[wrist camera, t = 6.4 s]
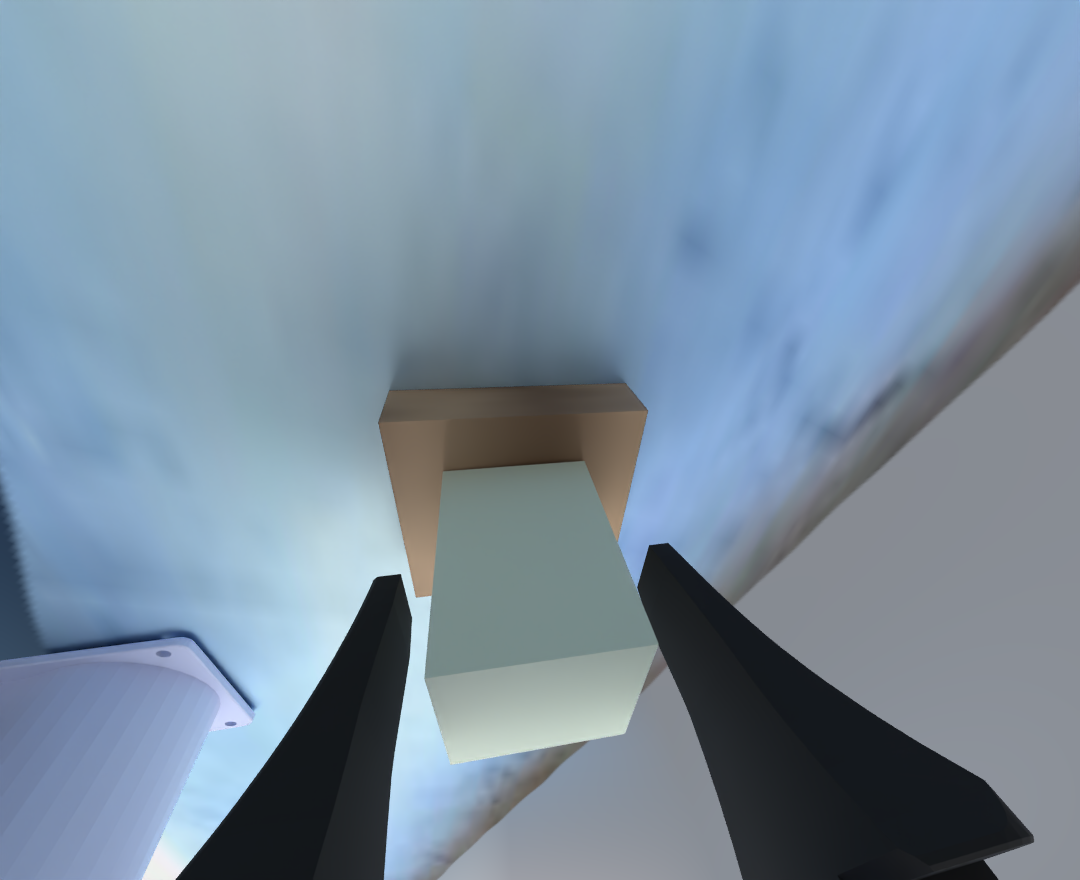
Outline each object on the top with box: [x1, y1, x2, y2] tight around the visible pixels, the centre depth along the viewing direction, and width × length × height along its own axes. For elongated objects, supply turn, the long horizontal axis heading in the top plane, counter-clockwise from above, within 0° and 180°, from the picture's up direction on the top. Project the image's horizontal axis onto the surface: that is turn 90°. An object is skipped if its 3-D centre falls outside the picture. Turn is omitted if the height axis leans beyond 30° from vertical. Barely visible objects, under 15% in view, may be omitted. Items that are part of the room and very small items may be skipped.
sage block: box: [424, 461, 659, 765], centre depth 11 cm, size 4×4×6 cm
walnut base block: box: [378, 383, 648, 597], centre depth 15 cm, size 8×8×2 cm
